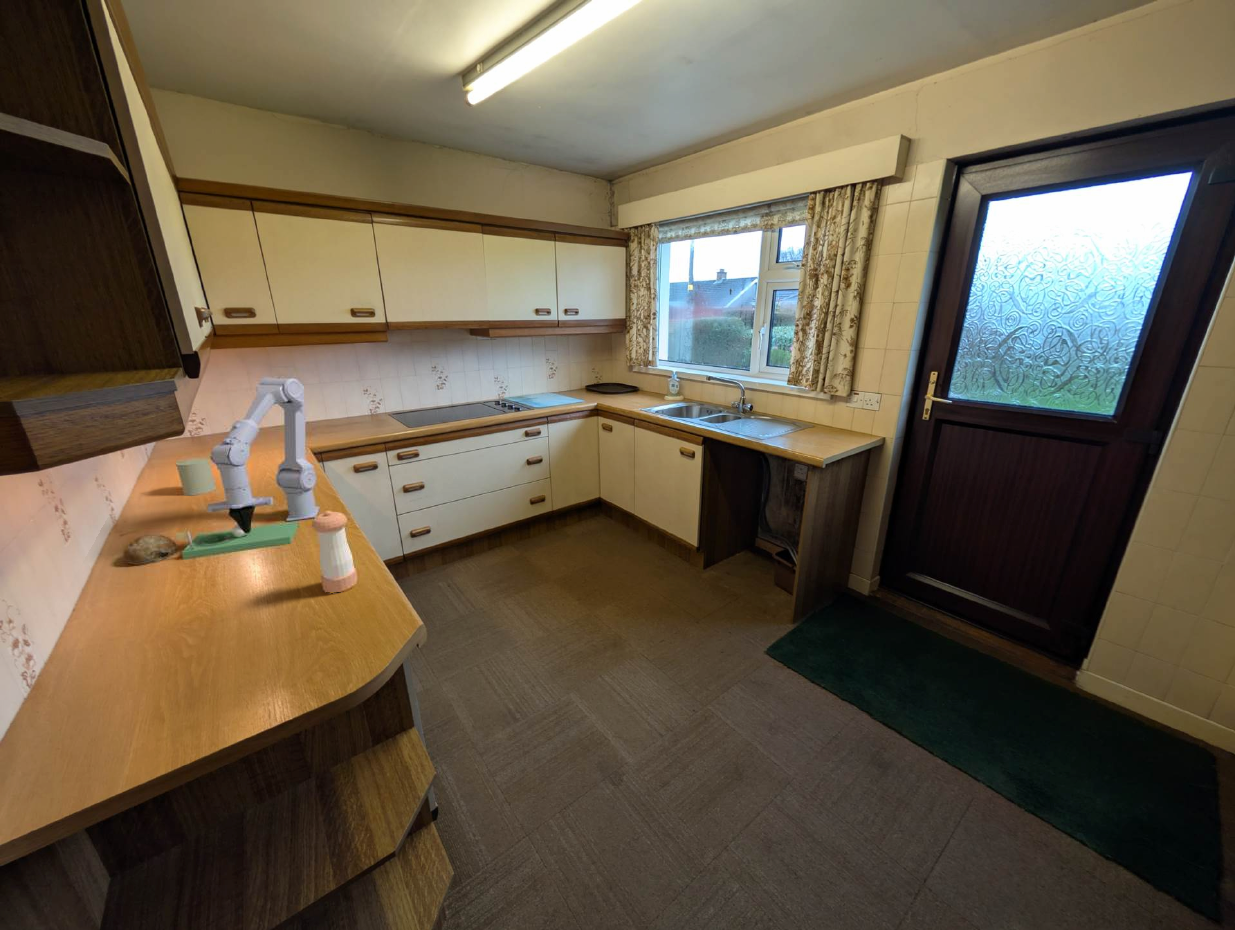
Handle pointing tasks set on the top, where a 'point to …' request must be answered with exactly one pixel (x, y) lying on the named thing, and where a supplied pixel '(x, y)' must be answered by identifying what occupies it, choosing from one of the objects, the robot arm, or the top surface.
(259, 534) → the green
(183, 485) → the can
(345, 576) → the pepper shaker
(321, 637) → the top surface
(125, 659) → the top surface
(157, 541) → the brown rounded lump
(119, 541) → the top surface
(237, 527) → the ball
